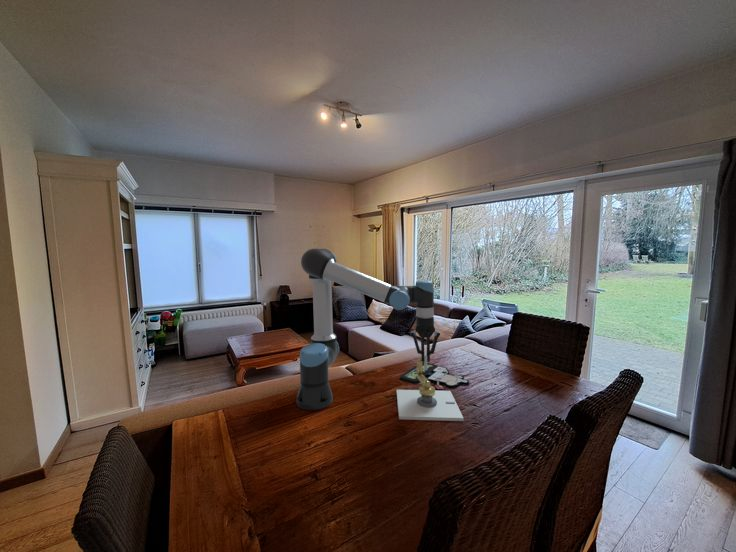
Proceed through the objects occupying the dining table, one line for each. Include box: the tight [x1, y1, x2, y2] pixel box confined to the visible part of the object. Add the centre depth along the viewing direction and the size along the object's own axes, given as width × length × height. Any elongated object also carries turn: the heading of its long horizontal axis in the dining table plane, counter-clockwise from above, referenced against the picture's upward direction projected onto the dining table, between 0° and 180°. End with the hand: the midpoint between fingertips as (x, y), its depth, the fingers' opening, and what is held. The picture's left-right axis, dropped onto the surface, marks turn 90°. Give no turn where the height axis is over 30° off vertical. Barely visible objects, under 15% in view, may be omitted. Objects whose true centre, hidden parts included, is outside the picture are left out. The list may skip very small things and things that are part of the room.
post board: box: [396, 389, 465, 422], centre depth 122 cm, size 24×22×5 cm
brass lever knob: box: [416, 358, 435, 397], centre depth 125 cm, size 13×6×11 cm, turn 12°
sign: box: [399, 362, 470, 391], centre depth 149 cm, size 27×2×30 cm
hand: (425, 368), depth 131 cm, fingers closed
